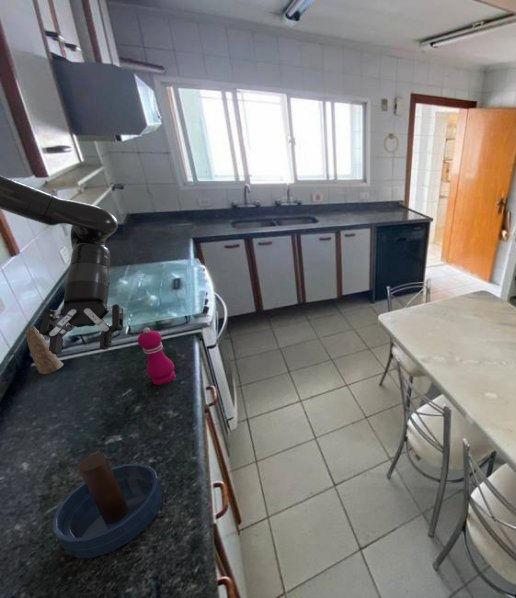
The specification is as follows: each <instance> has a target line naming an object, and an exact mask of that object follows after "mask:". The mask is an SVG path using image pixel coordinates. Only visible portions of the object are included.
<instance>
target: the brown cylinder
mask: <svg viewBox="0 0 516 598" xmlns="http://www.w3.org/2000/svg"><path fill="white" fill-rule="evenodd" d="M111 468H112V467H111V464H110V463H109V460H108V457H107V456H106V454H105V453H103V452H97V453H93V454H90V455H88V456H87V457H85V458H83V459H82V460H81V461H80V462H79V464H78V465H77V469H78V471H79V473H80V475H81V477H82V479H83V482H85V483H86V485H87V488H88V490H89V492H90V494H91V496H92V498H93V500H94V502H95V504H96V506H97V508H98V510H99V512H100V514H101V516H102V518H103V520H104V522H105V523H106V524H113V523H116V522H118V521H120V520H121V519H122V518H123V517H124V516H125V515H126V514H127V512H128V506H127V504H126V502H125V499H124V497H123V495H122V492H121V490H120V488H119V485H118V483H117V481H116V478H115V476H114V474H113V471H112V469H111Z"/></svg>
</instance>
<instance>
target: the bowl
mask: <svg viewBox="0 0 516 598" xmlns="http://www.w3.org/2000/svg"><path fill="white" fill-rule="evenodd" d="M111 469H112V471H113V474H114V476H115V478H116V481H117V483H118V485H119V488H120V490H121V492H122V495H123V497H124V499H125V502H126V504H127V506H128V512H127V514H126V515H125V516H124V517H123V518H122V519H121V520H120V521H118V522H116V523H113V524H106V523H105V522H104V520H103V518H102V516H101V514H100V512H99V510H98V508H97V506H96V504H95V502H94V500H93V498H92V496H91V494H90V492H89V490H88V488H87V485H86V483H85V481H83V482H82V483H81V484H80V485H78V486H77V487H76V488H75V489H74V490H73V491H71V492H70V493H69V494H68V496H67V497H65V499H64V500H63V501H62V503H61V504H60V505H59V506H58V508H57V510H56V511H55V514H54V516H53V518H52V532H53V533H54V535H55V537H56V538H57V540H58V542H59V543H60V545H61V547H62V548H63V550H65V552H66V553H67V555H68V556H71V557H74V558H78V559H91V558H97V557H100V556H104V555H106V554H109V553H112V552H114V551H116V550H117V549H119V548H121V547H123V546H125V545H126V544H128V543H129V542H131V541H132V540H133V539H135V538H136V537H138V536H139V535H140V534H141V533H142V532H143V531H144V530H145V529H146V528H147V527H148V526H149V525H150V523H151V522H152V521H153V520H154V519H155V518H156V516H157V514H158V512H159V510H160V509H161V507H162V501H163V497H164V493H163V490H162V487H161V485H160V482H159V477H158V476H157V472H156V470H155V469H153V467H151V466H149V465H148V464H143V463H137V462H136V463H125V464H121V465H118V466H117V465H116V466H114V467H111Z"/></svg>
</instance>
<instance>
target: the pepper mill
mask: <svg viewBox="0 0 516 598" xmlns="http://www.w3.org/2000/svg"><path fill="white" fill-rule="evenodd" d="M162 340H163V338H162V334H161V333H160V332H159V331H156V330H151V329H150V328H149V327H144V328H142V333H140V334H139V336H138V337H137V344H138V346H139V347H141V348H142V351H143V354H146V356H147V366H146V373H147V376H148V377H149V378H151V381H152V383H153V384H154V385H159V386H160V385H164V384H168V383H170V382H171V381H173V380H175V379H176V377H177V375H176V373H175V364H174V362H173V361H172V360H171V359H170V358H169V357H168V356H166V354H165V352H164V351H163V347H164V346H163V343H162Z"/></svg>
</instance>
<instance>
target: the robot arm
mask: <svg viewBox="0 0 516 598" xmlns="http://www.w3.org/2000/svg"><path fill="white" fill-rule="evenodd" d="M0 210H2V211H6V212H8V213H11V214H13V215H16V216H18V217H19V216H20V217H22V218H25V219H29V220H31V221H35V222H38V223H40V224H43V225H47V226H57V225H60V224H62V225H63V224H65V225H66V224H67V225H71V228H70V233H69V234H70V235H69V237H70V244H71V249H72V250H71V255H70V256H71V257H70V263H69V268H68V272H67V275H66V281H65V288H64V297H63V307H62V308H61V309H51V308H45V309H44V310H43V314H42V318H41V322H40V327H39V330H38V331H39V333H40V334H42V336H45V337H48V338H49V343H48V345H49V351H51V353H52V354H56V356H57V355H62V351H63V343H64V336H65V335H66V334H68V333H69V332H71V331H72V330H74V329H75V328H83V327H95V326H98V327H99V328H100V329H101V331H102V332H100V338H99V349H100V350H103V351H106V350H109V348H110V347H111V346H112V341H113V334H114V333H116V332H118V331H120V332H121V331H123V329H124V308H123V307H122V306H120V305H119V304H116V303H114V304H113V305H112V306H108V301H109V289H110V285H111V283H110V277H111V276H110V266H111V252H110V250H109V248H107V247H106V241H107V239H108V238H109V237H111V236H113V234H114V233H115V232H117V230H118V227H119V222H118V219H117V218H116V217H115V215H113V214H112V213H111V212H109V211H108V210H106V209H104V208H102V207H99V206H96V205H93V204H89V203H85V202H81V201H76V200H71V199H65V198H60V197H59V196H56V195H54V194H51V193H48V192H46V191H44V190H40V189H38V188H35V187H33V186H30V185H28V184H25V183H23V182H20V181H17V180H14V179H12V178H8V177H7V176H3V175H1V174H0ZM107 314H110V315H111V325H110V324H109V323H108V322H107V321H106V320H105V319H104V318H105V317H106V316H107ZM61 316H62V317H63V318H61V319H60V317H61ZM59 319H60V321H58V322H57V320H59Z"/></svg>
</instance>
